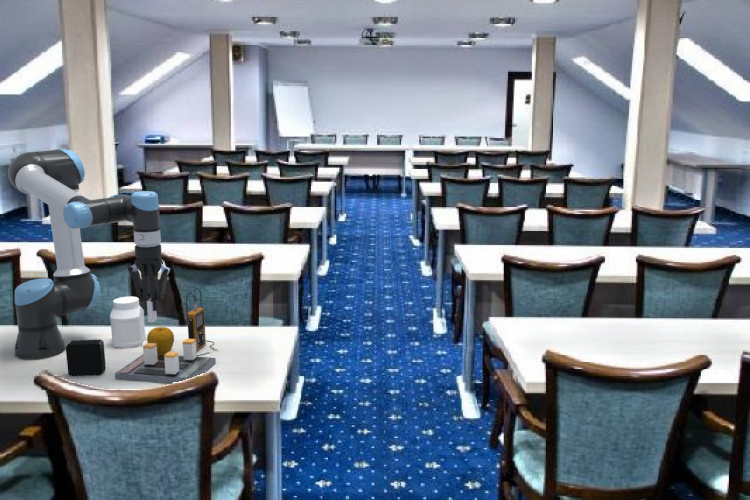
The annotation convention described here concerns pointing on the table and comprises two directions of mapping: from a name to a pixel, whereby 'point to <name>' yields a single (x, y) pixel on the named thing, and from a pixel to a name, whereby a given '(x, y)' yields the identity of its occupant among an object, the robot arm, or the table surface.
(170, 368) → the breaker near
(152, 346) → the block
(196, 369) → the panel
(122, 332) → the jar
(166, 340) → the apple
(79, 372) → the electronic device
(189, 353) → the breaker far
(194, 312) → the multimeter
